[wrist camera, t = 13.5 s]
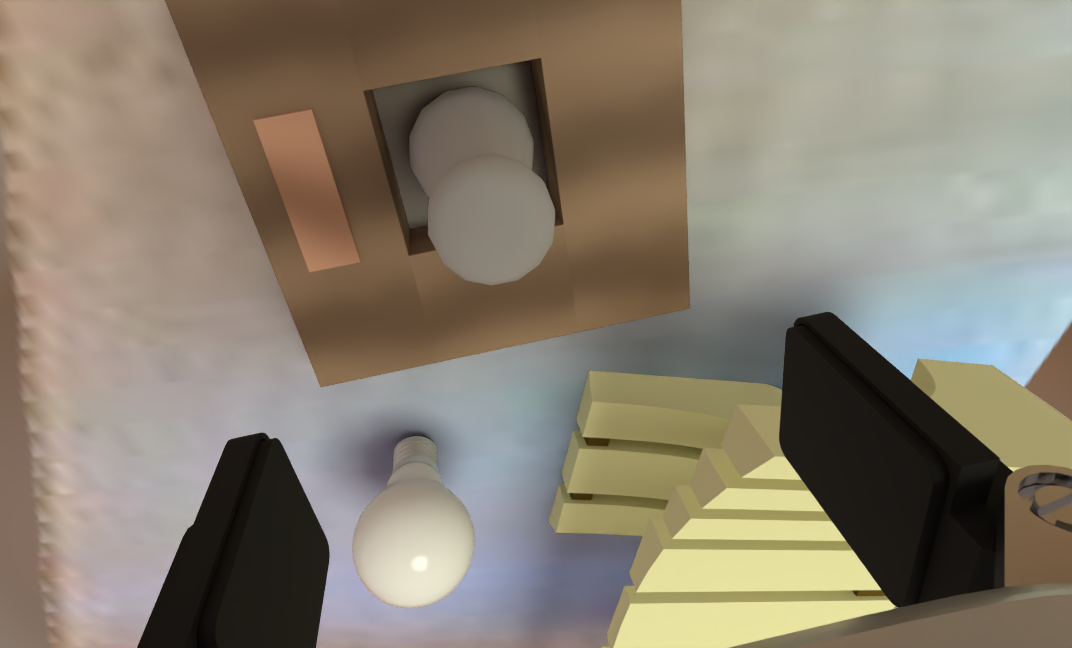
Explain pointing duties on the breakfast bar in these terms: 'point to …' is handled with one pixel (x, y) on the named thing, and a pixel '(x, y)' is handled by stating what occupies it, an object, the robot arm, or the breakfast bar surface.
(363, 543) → the lightbulb
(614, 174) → the socket block
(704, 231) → the breakfast bar surface
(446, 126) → the salt shaker
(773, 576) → the slatted curved stool
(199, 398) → the breakfast bar surface
